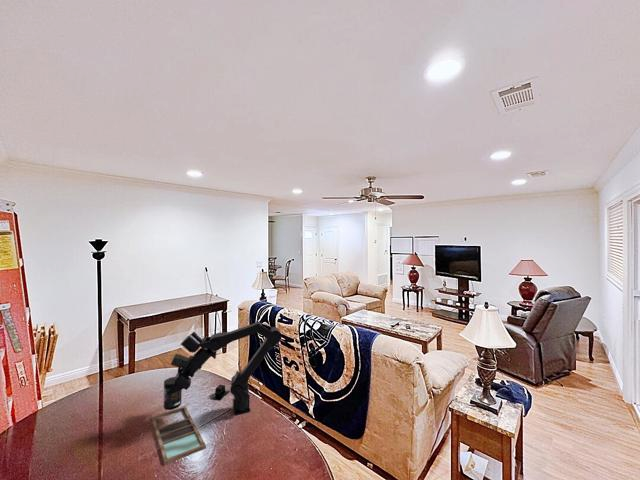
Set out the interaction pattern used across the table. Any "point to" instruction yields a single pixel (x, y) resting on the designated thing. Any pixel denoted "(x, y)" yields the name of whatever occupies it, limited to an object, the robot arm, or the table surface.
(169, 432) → the compartment sorting tray
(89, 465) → the table surface
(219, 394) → the black box
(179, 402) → the supplement container
